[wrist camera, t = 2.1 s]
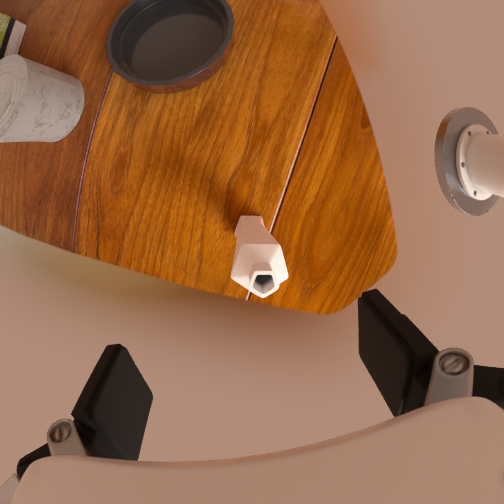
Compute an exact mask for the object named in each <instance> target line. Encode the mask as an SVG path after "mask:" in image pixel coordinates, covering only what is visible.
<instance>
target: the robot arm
mask: <svg viewBox="0 0 504 504" xmlns="http://www.w3.org/2000/svg"><path fill="white" fill-rule="evenodd" d="M456 167H457V172H458V176H459V180H460V182H461V185H462V187H463V188H464V190H465V192H466V193H467V194H468V195H469V196H470V197H472V198H474V199H477V200H485V199H487V198H489V197H490V196H491V195H492V194H494V195H498V196H501V197H504V135H497V134H491V132H490V131H489V130H488V129H487V128H486V127H484V126H482V125H478V124H472V125H469V126H467V127H466V128H465V129H464V130H463V131H462V133H461V135H460V137H459V140H458V143H457V149H456ZM358 323H359V354H360V357H361V359H362V361H363V363H364V364H365V366H366V368H367V370H368V372H369V373H370V375H371V376H372V379H373V380H374V382H375V384H376V385H377V387H378V389H379V391H380V392H381V394H382V396H383V398H384V400H385V401H386V403H387V405H388V407H389V408H390V411H391V412H392V414H393V416H394V417H395V418H392V419H390V420H387V421H385V422H382V423H379V424H376V425H374V426H371V427H368V428H365V429H362V430H359V431H356V432H353V433H350V434H346V435H343V436H340V437H336V438H333V439H329V440H326V441H323V442H318V443H315V444H311V445H307V446H302V447H298V448H293V449H289V450H283V451H278V452H273V453H267V454H261V455H254V456H248V457H240V458H231V459H220V460H208V461H186V462H152V461H137V460H138V458H139V453H140V449H141V444H142V440H143V436H144V432H145V428H146V423H147V420H148V416H149V411H150V408H151V404H152V400H153V395H152V392H151V390H150V388H149V387H148V385H147V383H146V382H145V380H144V378H143V377H142V375H141V373H140V372H139V370H138V368H137V366H136V365H135V363H134V361H133V359H132V357H131V356H130V354H129V352H128V350H127V349H126V348H125V347H123V346H122V345H121V344H113V345H107V347H106V348H105V350H104V352H103V353H102V355H101V357H100V359H99V361H98V363H97V364H96V366H95V368H94V370H93V372H92V374H91V375H90V377H89V379H88V381H87V383H86V385H85V387H84V389H83V391H82V393H81V395H80V397H79V399H78V401H77V403H76V405H75V407H74V409H73V411H72V413H71V415H72V416H73V417H74V418H75V419H74V421H71V420H70V419H66V418H65V419H60V420H57V421H56V422H54V423H53V424H52V425H51V426H50V428H49V430H48V432H47V441H48V443H47V444H45V445H43V446H41V447H40V448H38V449H36V450H35V451H33V452H31V453H29V454H28V455H26V456H24V457H23V458H21V459H20V460H19V462H18V465H17V475H16V474H15V473H14V474H13V475H12V476H11V477H10V478H9V479H8V480H7V481H6V482H5V483H4V484H3V485H2V486H1V487H0V504H504V368H496V367H487V366H479V365H474V362H473V358H472V356H471V355H470V354H469V353H468V352H467V351H465V350H463V349H460V348H447V349H444V350H442V351H440V352H439V351H438V350H437V348H436V347H435V346H434V345H433V344H432V343H431V342H430V341H429V340H428V339H427V338H426V337H425V336H424V334H423V333H422V332H421V331H420V330H419V329H418V328H417V327H416V326H415V325H414V324H413V323H412V322H411V321H410V320H409V319H408V317H406V316H405V315H403V314H401V313H400V312H399V311H398V310H397V309H396V308H395V307H394V306H393V305H392V304H391V303H390V302H389V301H388V300H387V299H386V298H385V297H384V296H383V295H382V294H381V293H380V292H379V291H378V290H377V289H373V290H369V291H366V292H363V293H362V295H361V297H359V298H358Z"/></svg>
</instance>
